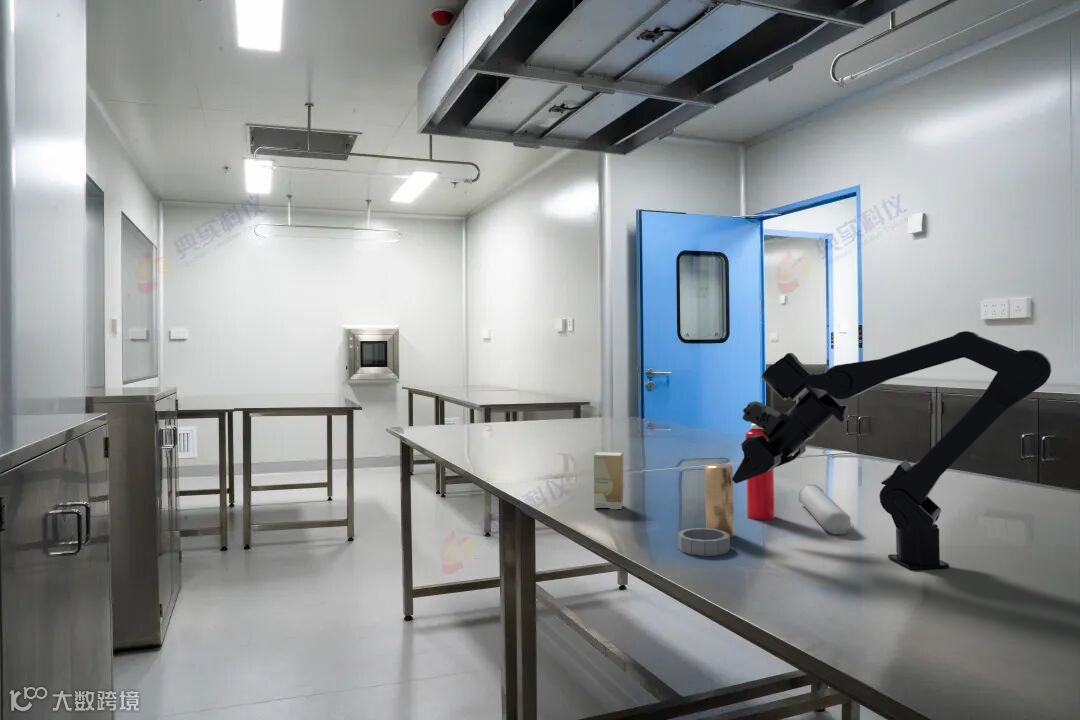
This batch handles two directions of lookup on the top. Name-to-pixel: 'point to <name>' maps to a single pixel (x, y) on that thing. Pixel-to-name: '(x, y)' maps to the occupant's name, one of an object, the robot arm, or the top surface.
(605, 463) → the skincare box
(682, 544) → the collar
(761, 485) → the bottle
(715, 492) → the copper stub
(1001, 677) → the top surface
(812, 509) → the tube
